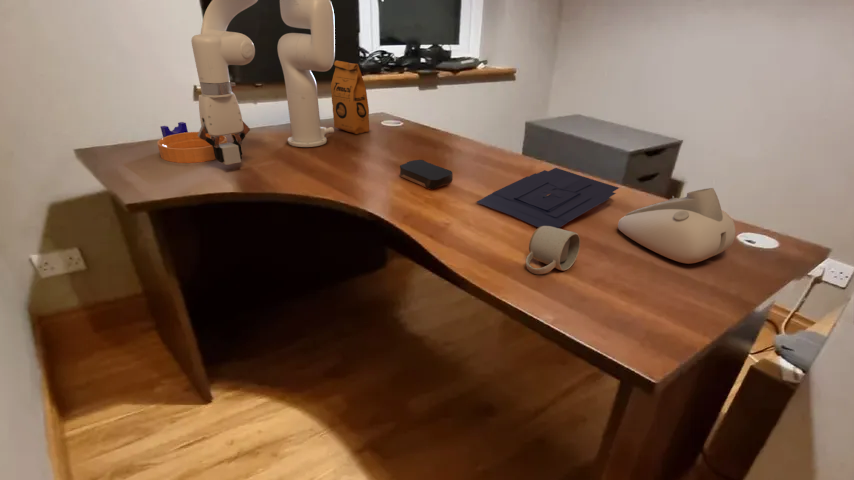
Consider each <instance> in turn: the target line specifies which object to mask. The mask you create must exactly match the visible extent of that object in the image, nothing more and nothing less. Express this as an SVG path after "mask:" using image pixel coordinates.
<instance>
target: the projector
mask: <svg viewBox="0 0 854 480" xmlns="http://www.w3.org/2000/svg"><path fill="white" fill-rule="evenodd" d="M671 197H672V198H669V199H668V200H664V201H660V202H656V203H654V204H649V205H646V206H643V207H640V208H637V209H634V210H632V211H629V212H627V213H626V214H625V215H624V216H622V217H621V218H620V219H619V220H618V223H617V228H618V230H619V231H620V232H621V233H622V234H623V235H625V236H626V237H628V238H629V239H631V240H632V241H634V242H636V243H637V244H639V245H640V246H642V247H644V248H646V249H648V250H650V251H652V252H654V253H656V254H658V255H660V256H662V257H665V258H666V259H670V260H672V261H675V262H678V263H680V264H681V263H682V264H688V265H689V264H696V263H700V262H702V261H706V260H707V259H710V258H712V257H714V256H717V255H719V254H721V253H723V252H725V251H726V250H727V249H729V248H731V246H732V245H733V243H734V241H735V239H736V233H737V232H736V224H735V222H734V219H733V218H732V217H731V216H730V215H729V214H728V212H726V211H724V210H723V209H722V206H721V204H720V200H719V198H718V195H717V192H716V190H715V188H714V187H708V188H702V189H697V190H693V191H688V192H687V193H686V196H684V197H675V196H674V195H671Z"/></svg>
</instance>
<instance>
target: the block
mask: <svg viewBox="0 0 854 480" xmlns="http://www.w3.org/2000/svg"><path fill="white" fill-rule="evenodd" d="M219 146H220V148H221V149H222V154H223V159H224V162H222V164H223V165H225V166H227V165H232V164H234V165H235V164H239V163H242V159H240V153H239V147H238V145H235V144H233V143H232V142H231V141H230V142H228V143H224V144H219Z"/></svg>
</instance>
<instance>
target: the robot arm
mask: <svg viewBox="0 0 854 480" xmlns="http://www.w3.org/2000/svg"><path fill="white" fill-rule="evenodd" d="M257 2H259V0H211V1H210V3H209V4H208V5H207V8H206V9H205V12H204V15H203V18H202V22H201V24H202V25H201V29H200V33H199V34H195V35H193V36H192V37H191V41H190V42H191V48H192V52H193V57H194V63H195V67H196V72H197V78H198V83H199V87H200V92H201V94H198V112H199V113H198V114H199V120H200V126H201V127H200V129H199V130H198V132H199V133H198V137H199V138H201V139H203V140H205V141H206V142H208V143H209V144H210V145H211V146H213V150H214V155H215V158H216V159H215V160H216V161H218V162H220V163H222V162H224V159H223V154H222V149H221V148H220V146H219V136H222V135H224V136H229V135H231V138H232V142H231V143H233V144H235V145H238V147H239V153H240V159H241V160H242V158H243V157H242V156H243V149H242V143H243V140H244V139H245V137H246V135H248V134H249V132H250V131H251V128H250V127H249V126H248V125H247V124H246V122H245V121H244V120H243V115H242V112H241V109H240V105H239V102H238V99H237V96H236V94H235V93H234V90H233V89H235V88H237V85H236V82H234V81H233V82H232V80H231V78H230V72H229V66H245V65H248V64H250V63H251V62H252V61H253V59H254V58H255V55H256V48H255V45H254V43H253V41H252V40H251V38H250V37H249V36H247V35H246V34H243V33H240V32H235V31H227V29H228V26H229V25H230V23H231V21H232V20H233V19H234V18H235V17H236V16H237V15H238V14H240V13H241V12H243V11H245V10H247V9H248V8H250V7H252V6H253V5H255V4H256V3H257ZM279 10H280V11H279V12H280V17H281V20H282V21H283V23H284V24H285V25H286V26H288V27H290V28H296V29H304V30H305V29H306V30H310V34H309V33H300V32H289V33H285V34H283V35H282V36H281V37H280V38H279V39H278V42H277V49H276V50H277V55H278V59H279V62H280V65H281V70H282V73H283V78H284V84H285V92H286V101H287V107H288V117H289V124H290V131H291V136H289V137H288V138H287V144H288V145H290V146H292V147H296V148H298V147H299V148H315V147H319V146H320V147H321V146H323V145H325V144H326V143H327V141H328V139H327V137H326V136H327V135H330V134H334V133H335V129H334V126H333V127H332V126H330V127H326V126H321V117H320V105H319V95H318V84H317V81H316V78H315V76H314V74H313V72H328V71H330V70H331V69H332V68H333V65H334V62H335V57H336V45H335V44H336V39H335V38H336V37H335V36H336V34H335V32H336V31H335V13H334V7H333V4H332V1H331V0H279ZM312 71H313V72H312ZM206 133H207V134H209V135H210V136H211V139H210V138H209V137H207V136H206V135H205V134H206ZM222 164H223V163H222Z"/></svg>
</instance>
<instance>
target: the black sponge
mask: <svg viewBox="0 0 854 480" xmlns="http://www.w3.org/2000/svg"><path fill="white" fill-rule="evenodd" d="M399 168H400V169H399V170H400V171H399V177H401V178H403V179H405V180H407V181H410V182H413V183H415V184H417V185H419V186H421V187H423V188H426V189H428V190H436V189H438V188H440V187H443V186H447V185H449V184H451V183H452V182H453V178H454V177H453V176H454V175H453V171H452V170H450V169H448V168H444V167H441V166H440V165H439V166H438V165H436V164H433V163H431V162H429V161H428V162H427V161H426V160H423V159H414V160H409V161H406V162H405V163H403V164H400V165H399Z"/></svg>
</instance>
